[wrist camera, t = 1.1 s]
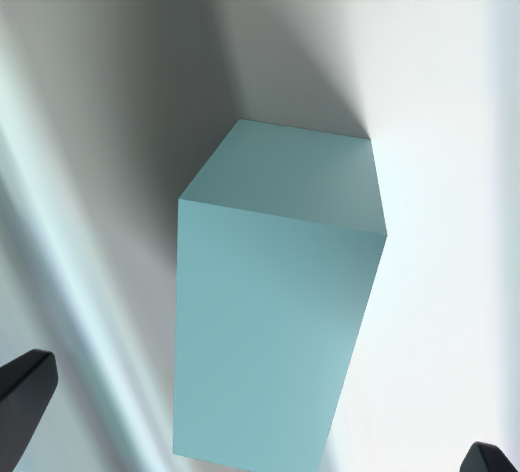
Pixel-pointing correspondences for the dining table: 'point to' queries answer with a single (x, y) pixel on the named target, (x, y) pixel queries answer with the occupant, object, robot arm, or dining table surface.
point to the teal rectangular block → (271, 293)
